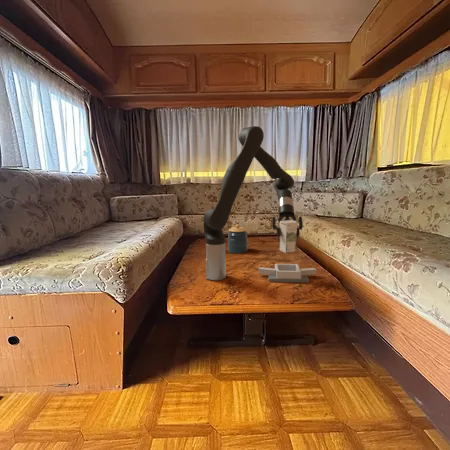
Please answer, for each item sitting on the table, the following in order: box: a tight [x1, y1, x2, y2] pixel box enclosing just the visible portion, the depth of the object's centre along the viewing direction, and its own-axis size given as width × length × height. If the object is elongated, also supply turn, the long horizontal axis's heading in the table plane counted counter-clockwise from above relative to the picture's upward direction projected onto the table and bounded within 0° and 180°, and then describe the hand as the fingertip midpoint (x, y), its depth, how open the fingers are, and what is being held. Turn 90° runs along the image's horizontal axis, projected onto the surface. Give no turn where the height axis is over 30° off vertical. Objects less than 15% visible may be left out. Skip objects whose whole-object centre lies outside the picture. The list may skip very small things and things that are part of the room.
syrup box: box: [278, 220, 298, 254], centre depth 130 cm, size 6×6×14 cm
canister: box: [227, 223, 249, 254], centre depth 181 cm, size 13×13×18 cm
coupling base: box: [258, 263, 317, 284], centre depth 133 cm, size 27×12×5 cm, turn 85°
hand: (288, 236), depth 129 cm, fingers closed on syrup box, 7 cm apart
